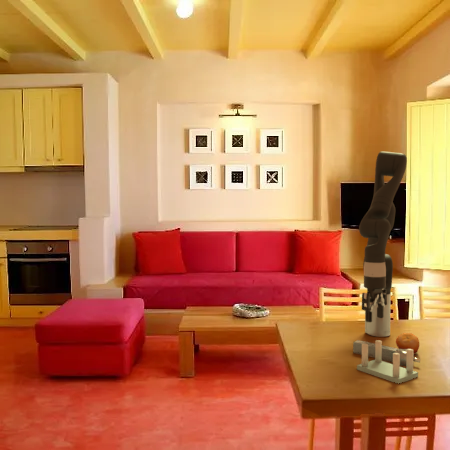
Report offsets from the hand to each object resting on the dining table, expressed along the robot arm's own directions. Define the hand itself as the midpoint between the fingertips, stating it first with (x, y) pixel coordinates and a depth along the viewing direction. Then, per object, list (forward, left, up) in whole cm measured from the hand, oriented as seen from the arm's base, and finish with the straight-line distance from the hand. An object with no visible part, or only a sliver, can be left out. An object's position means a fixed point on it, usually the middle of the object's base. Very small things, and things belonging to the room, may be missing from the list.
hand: (374, 319), depth 179 cm
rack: (+14, -11, -13) cm, 22 cm away
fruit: (+5, +13, -13) cm, 19 cm away
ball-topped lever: (+4, +1, -13) cm, 14 cm away
